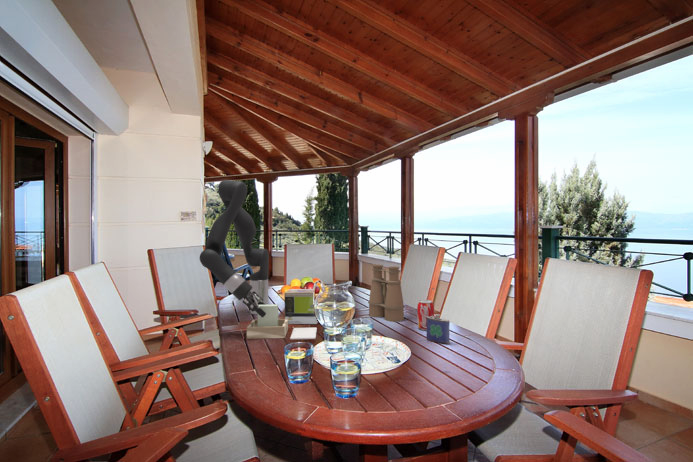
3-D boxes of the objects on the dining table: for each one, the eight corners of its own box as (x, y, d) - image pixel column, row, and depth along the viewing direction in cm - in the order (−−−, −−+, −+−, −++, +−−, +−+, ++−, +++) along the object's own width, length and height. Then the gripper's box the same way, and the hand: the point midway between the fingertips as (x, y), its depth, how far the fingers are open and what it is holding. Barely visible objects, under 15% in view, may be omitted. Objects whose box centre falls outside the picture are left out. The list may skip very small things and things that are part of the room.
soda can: (416, 330, 152) (415, 302, 151) (419, 325, 158) (418, 298, 158) (432, 332, 149) (432, 303, 149) (435, 327, 156) (435, 300, 155)
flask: (450, 343, 135) (450, 315, 135) (447, 345, 133) (447, 316, 132) (428, 338, 141) (428, 311, 140) (424, 340, 138) (424, 313, 138)
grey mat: (293, 329, 155) (293, 327, 155) (316, 328, 156) (316, 327, 156) (290, 339, 141) (290, 338, 141) (315, 338, 142) (315, 337, 142)
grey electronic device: (320, 319, 172) (320, 288, 171) (316, 325, 162) (316, 292, 161) (290, 318, 173) (289, 288, 173) (284, 324, 163) (284, 292, 163)
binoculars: (364, 314, 179) (363, 265, 178) (378, 311, 185) (377, 263, 185) (395, 323, 163) (394, 268, 162) (409, 319, 169) (408, 266, 169)
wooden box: (253, 330, 154) (253, 319, 154) (288, 329, 155) (288, 318, 155) (246, 338, 142) (246, 327, 142) (284, 337, 143) (284, 326, 143)
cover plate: (259, 333, 150) (258, 304, 150) (278, 332, 150) (278, 304, 150) (257, 335, 147) (257, 306, 147) (277, 334, 147) (277, 305, 147)
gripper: (240, 282, 141) (269, 310, 141) (248, 277, 155) (275, 303, 156) (226, 296, 141) (256, 324, 141) (236, 289, 155) (263, 315, 156)
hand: (266, 313), depth 149 cm, fingers open, 8 cm apart
